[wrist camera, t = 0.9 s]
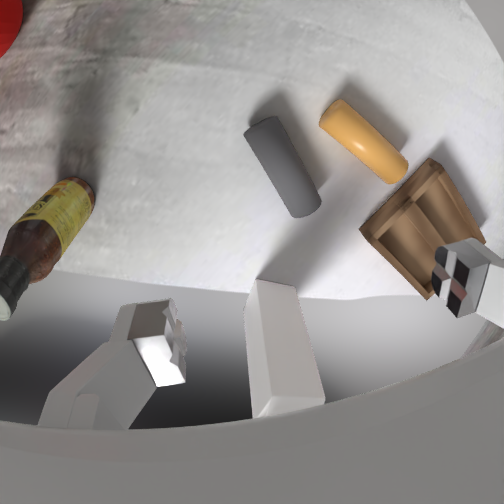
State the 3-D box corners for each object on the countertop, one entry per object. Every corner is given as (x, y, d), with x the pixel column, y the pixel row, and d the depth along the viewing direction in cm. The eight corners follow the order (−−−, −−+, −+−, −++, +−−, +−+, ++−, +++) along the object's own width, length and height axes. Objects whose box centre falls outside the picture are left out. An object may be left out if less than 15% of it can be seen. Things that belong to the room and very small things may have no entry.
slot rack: (429, 157, 36) (441, 165, 34) (476, 232, 44) (486, 242, 41) (358, 229, 42) (366, 240, 39) (418, 289, 49) (426, 300, 46)
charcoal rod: (244, 130, 34) (242, 139, 31) (275, 113, 33) (278, 120, 30) (289, 206, 39) (292, 222, 36) (318, 192, 38) (324, 207, 35)
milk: (280, 315, 49) (306, 448, 30) (242, 308, 47) (254, 448, 29) (295, 285, 46) (333, 424, 27) (255, 277, 44) (275, 424, 26)
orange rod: (314, 126, 34) (328, 128, 30) (333, 99, 33) (348, 99, 29) (378, 180, 38) (396, 187, 34) (395, 155, 37) (413, 161, 33)
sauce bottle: (71, 164, 34) (-26, 253, 17) (106, 197, 36) (32, 305, 20) (46, 200, 35) (-40, 296, 19) (79, 229, 38) (10, 339, 22)
